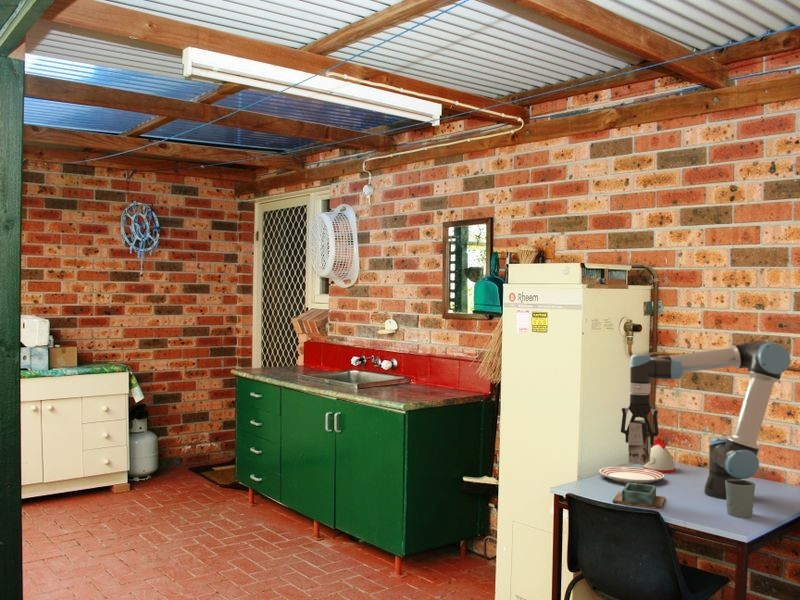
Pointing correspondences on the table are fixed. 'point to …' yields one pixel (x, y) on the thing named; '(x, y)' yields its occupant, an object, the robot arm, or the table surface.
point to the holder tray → (639, 496)
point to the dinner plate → (631, 474)
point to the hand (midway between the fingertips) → (639, 452)
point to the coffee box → (638, 442)
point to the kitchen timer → (660, 458)
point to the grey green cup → (739, 497)
